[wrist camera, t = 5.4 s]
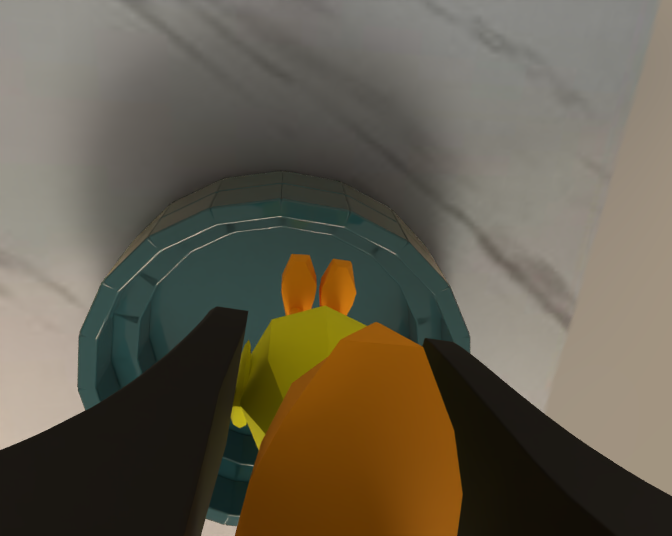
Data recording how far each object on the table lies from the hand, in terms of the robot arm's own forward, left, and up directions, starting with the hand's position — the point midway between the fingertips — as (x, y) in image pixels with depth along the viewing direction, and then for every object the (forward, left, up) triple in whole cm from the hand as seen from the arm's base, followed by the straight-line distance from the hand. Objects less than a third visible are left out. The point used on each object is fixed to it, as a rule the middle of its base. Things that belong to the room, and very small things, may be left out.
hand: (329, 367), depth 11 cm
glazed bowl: (0, +5, -10) cm, 12 cm away
